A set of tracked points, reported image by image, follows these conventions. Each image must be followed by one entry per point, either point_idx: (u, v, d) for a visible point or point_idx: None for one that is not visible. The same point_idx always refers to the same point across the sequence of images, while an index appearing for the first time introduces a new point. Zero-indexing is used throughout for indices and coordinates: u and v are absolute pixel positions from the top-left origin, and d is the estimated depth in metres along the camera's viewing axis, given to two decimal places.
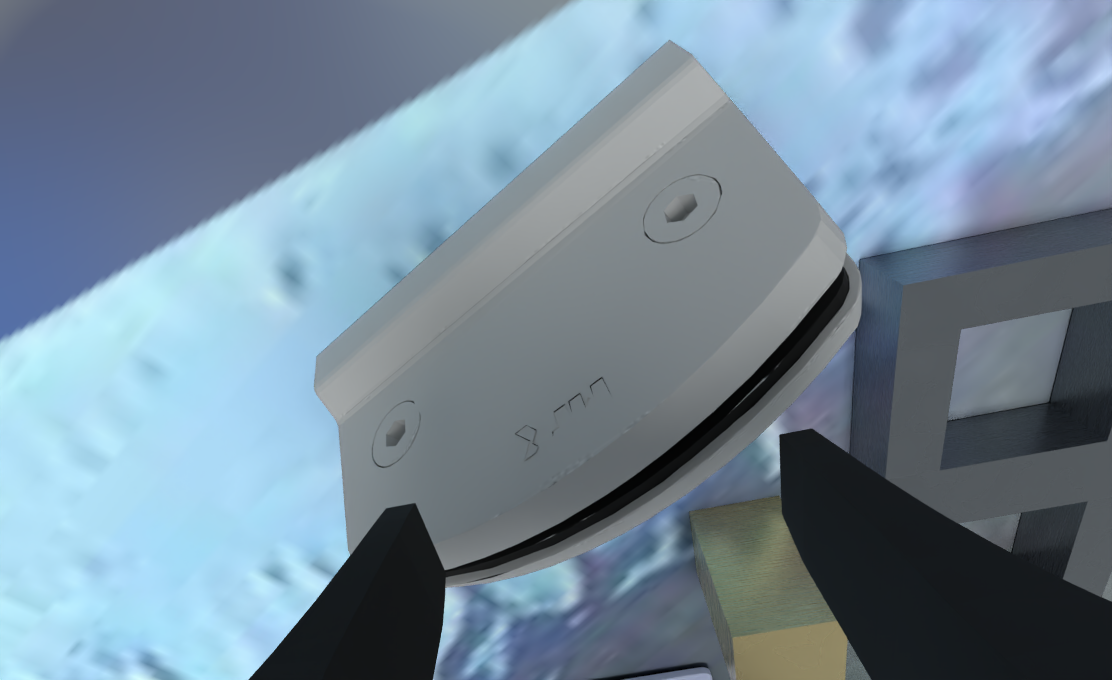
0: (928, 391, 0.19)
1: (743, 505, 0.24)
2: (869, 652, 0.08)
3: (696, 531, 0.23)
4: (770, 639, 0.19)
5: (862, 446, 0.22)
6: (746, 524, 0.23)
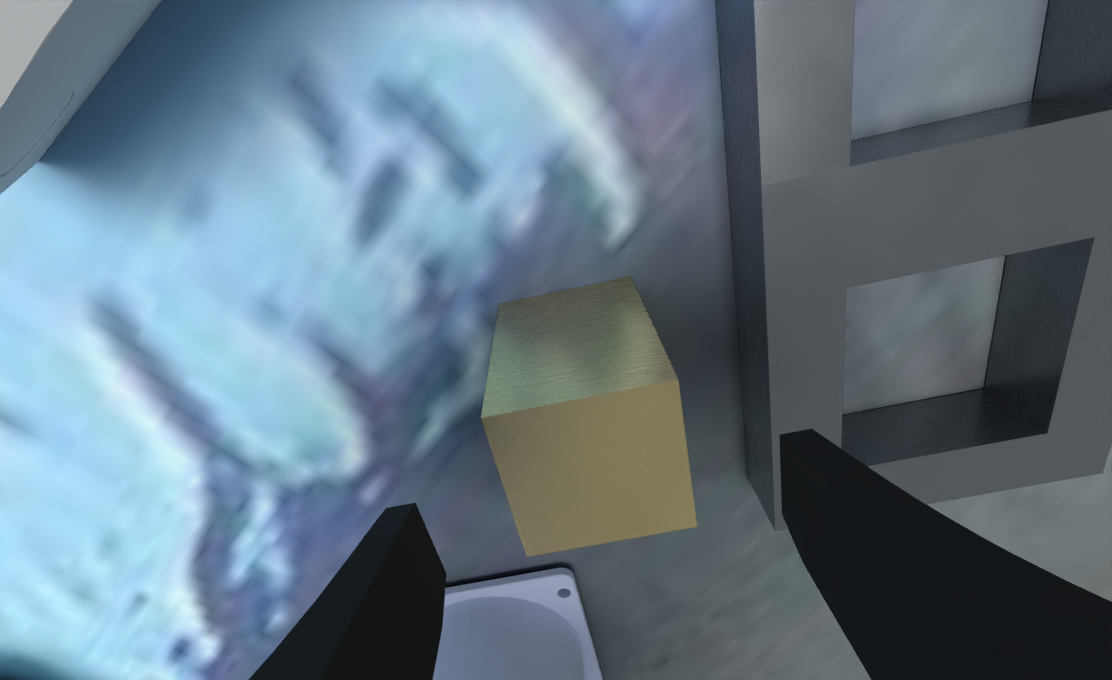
0: None
1: (577, 289, 0.16)
2: (869, 652, 0.08)
3: (497, 320, 0.15)
4: (550, 424, 0.11)
5: (737, 161, 0.14)
6: (570, 306, 0.15)
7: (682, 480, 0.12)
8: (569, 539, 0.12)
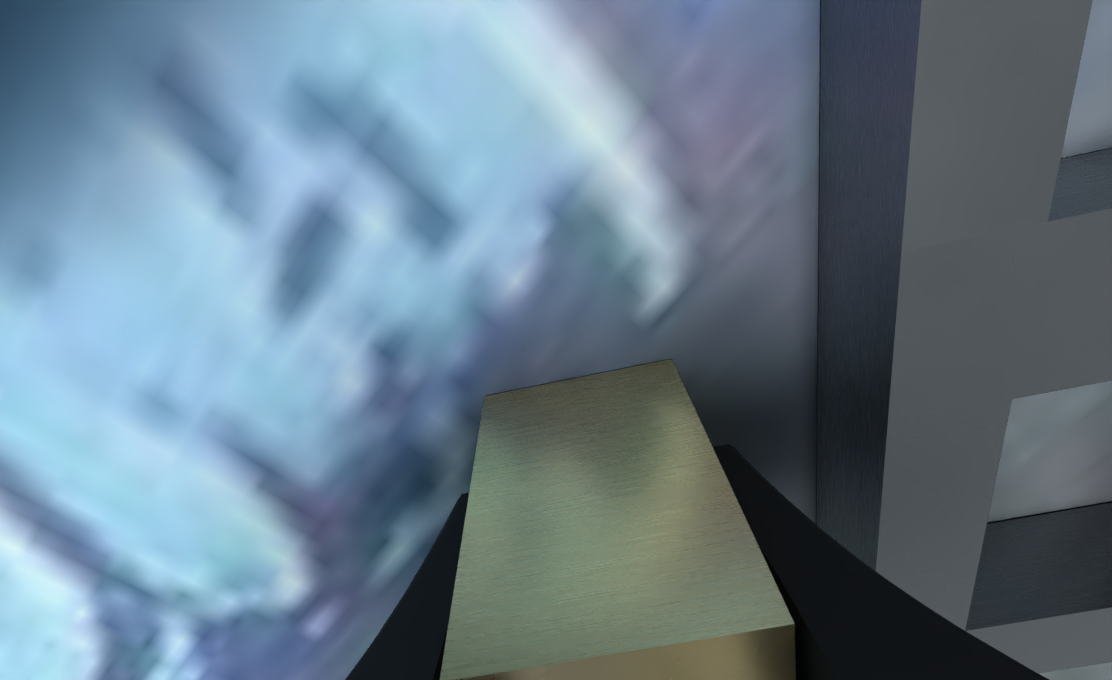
0: None
1: (595, 379, 0.11)
2: None
3: (481, 429, 0.10)
4: None
5: (844, 204, 0.09)
6: (587, 411, 0.10)
7: None
8: None
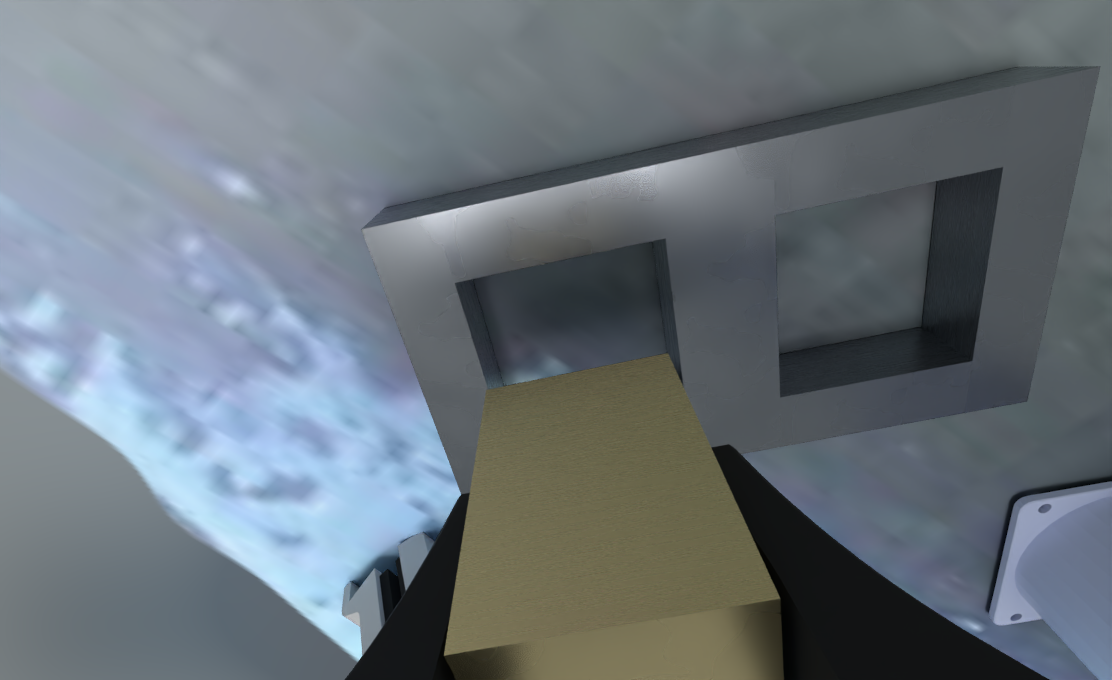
0: None
1: (594, 373, 0.12)
2: None
3: (483, 421, 0.11)
4: (560, 661, 0.07)
5: None
6: (585, 403, 0.11)
7: None
8: None
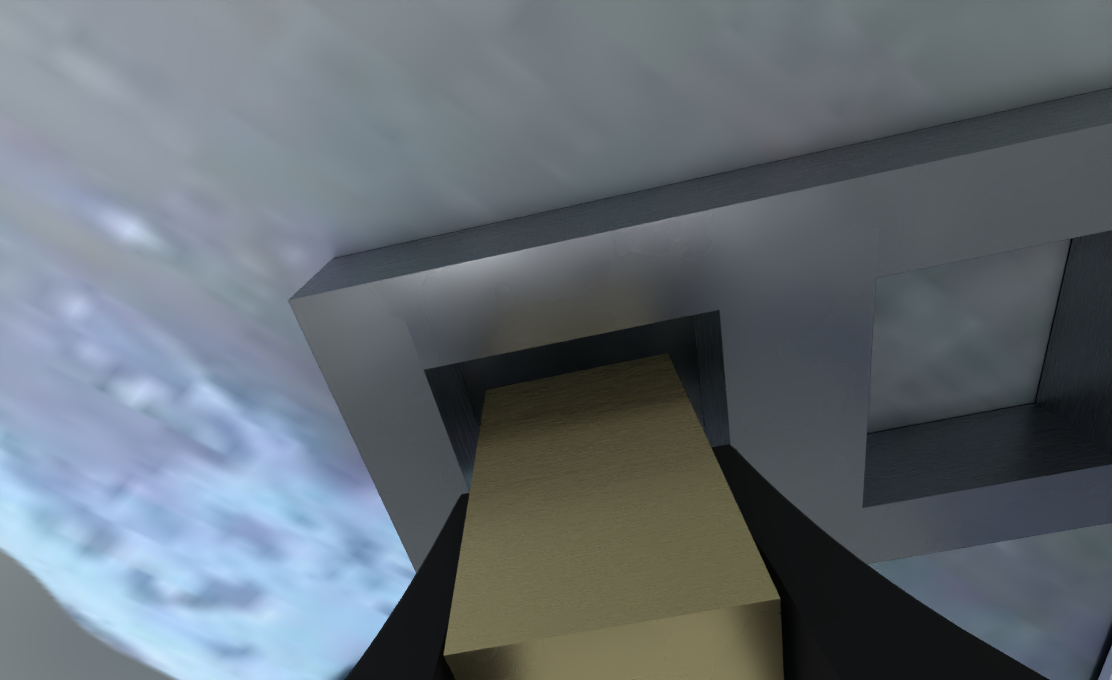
0: None
1: (594, 373, 0.11)
2: None
3: (483, 421, 0.11)
4: (560, 661, 0.07)
5: None
6: (585, 403, 0.11)
7: None
8: None
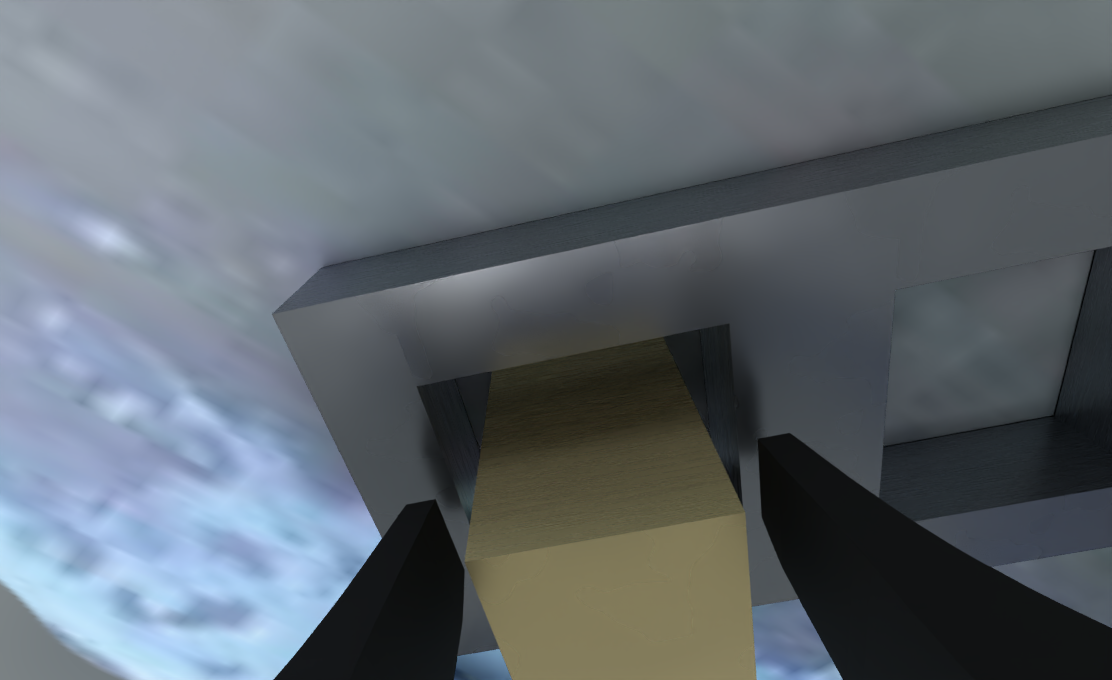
0: None
1: None
2: (843, 657, 0.08)
3: (491, 385, 0.12)
4: (562, 568, 0.08)
5: None
6: (584, 369, 0.12)
7: (741, 632, 0.09)
8: None
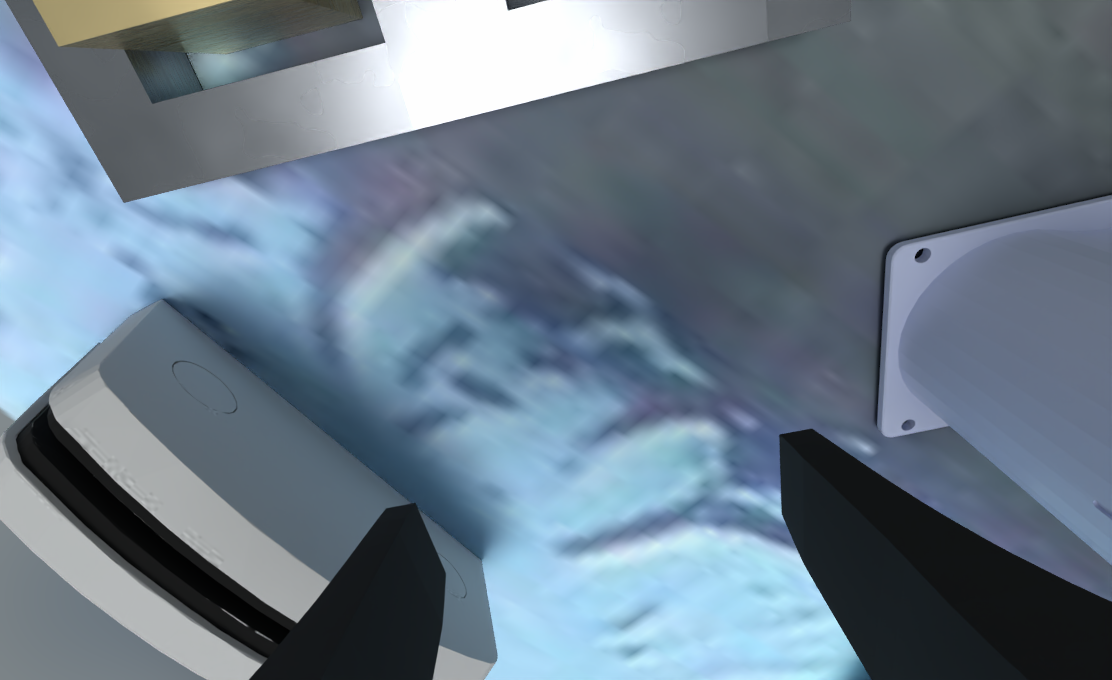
0: (252, 115, 0.14)
1: None
2: (869, 652, 0.08)
3: None
4: None
5: None
6: None
7: None
8: (103, 10, 0.10)
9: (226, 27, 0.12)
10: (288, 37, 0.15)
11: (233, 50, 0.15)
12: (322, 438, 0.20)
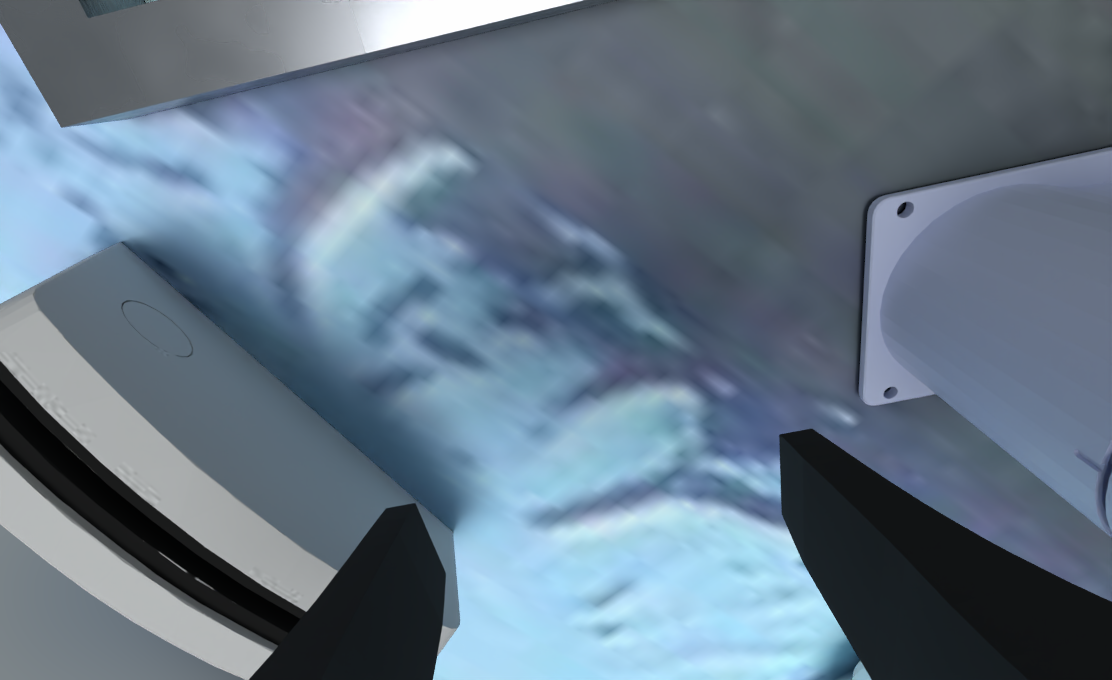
0: (195, 34, 0.13)
1: None
2: (869, 652, 0.08)
3: None
4: None
5: (371, 57, 0.15)
6: None
7: None
8: None
9: None
10: None
11: None
12: (287, 395, 0.20)
